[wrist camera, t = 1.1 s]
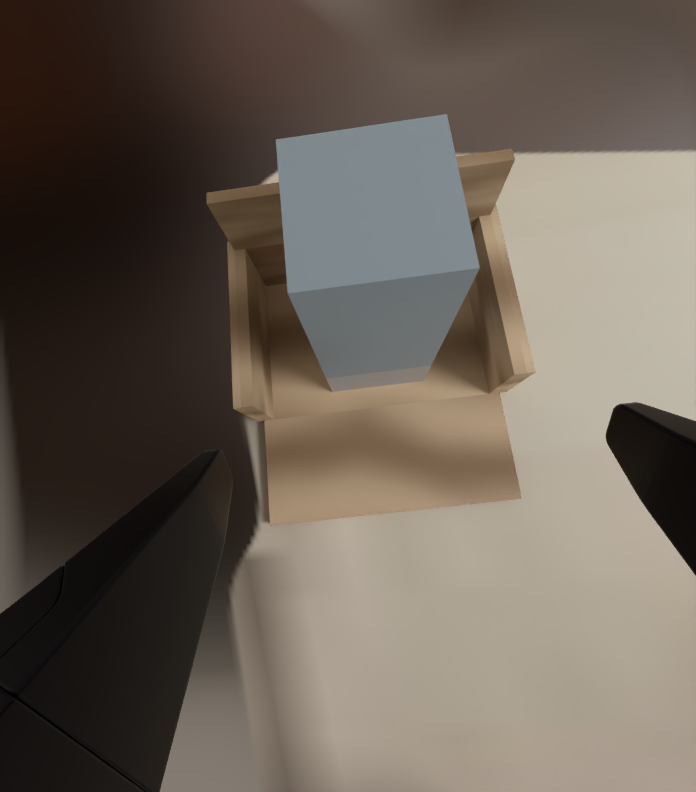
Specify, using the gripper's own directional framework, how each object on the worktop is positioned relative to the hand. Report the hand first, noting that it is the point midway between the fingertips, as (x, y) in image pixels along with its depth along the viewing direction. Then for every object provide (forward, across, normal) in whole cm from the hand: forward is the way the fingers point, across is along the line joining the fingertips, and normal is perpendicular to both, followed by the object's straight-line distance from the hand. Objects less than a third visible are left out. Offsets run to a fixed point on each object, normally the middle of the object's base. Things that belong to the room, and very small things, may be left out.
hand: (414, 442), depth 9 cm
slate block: (+14, 0, +4) cm, 15 cm away
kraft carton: (+13, 0, +6) cm, 14 cm away
